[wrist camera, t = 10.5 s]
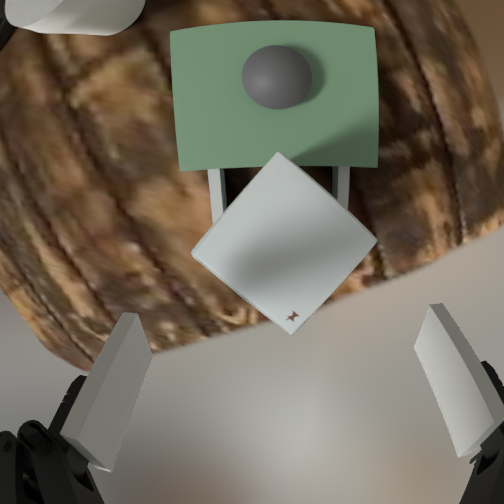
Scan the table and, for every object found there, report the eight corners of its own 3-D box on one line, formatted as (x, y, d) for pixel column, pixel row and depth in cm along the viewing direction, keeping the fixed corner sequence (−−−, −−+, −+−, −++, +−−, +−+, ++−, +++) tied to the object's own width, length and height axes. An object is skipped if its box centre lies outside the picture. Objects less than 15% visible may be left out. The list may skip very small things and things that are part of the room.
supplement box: (335, 220, 27) (384, 243, 15) (283, 278, 28) (290, 341, 16) (275, 167, 26) (279, 145, 14) (223, 227, 28) (186, 256, 15)
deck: (183, 41, 21) (165, 28, 17) (360, 37, 20) (378, 24, 16) (204, 266, 31) (193, 294, 27) (354, 263, 30) (368, 290, 26)
